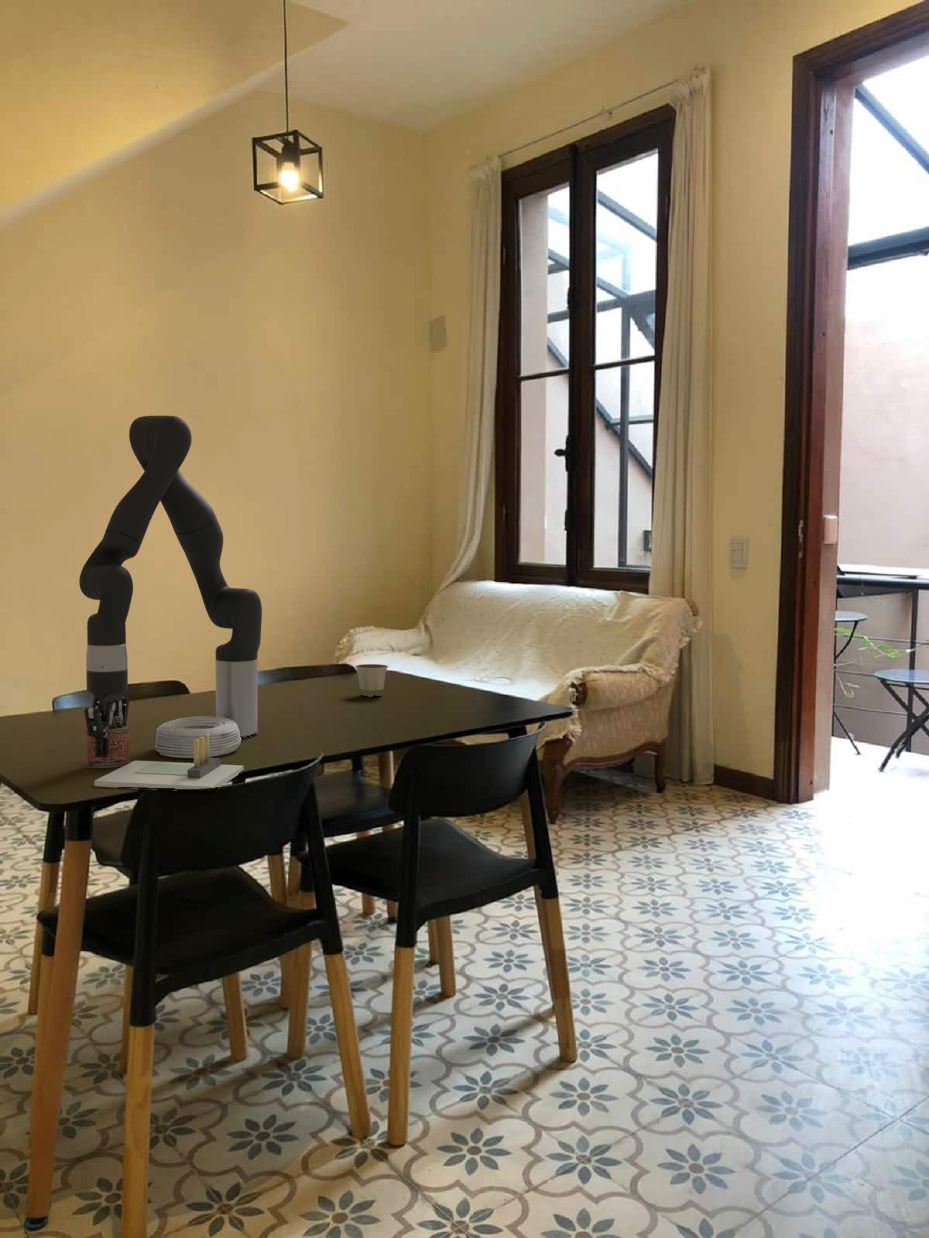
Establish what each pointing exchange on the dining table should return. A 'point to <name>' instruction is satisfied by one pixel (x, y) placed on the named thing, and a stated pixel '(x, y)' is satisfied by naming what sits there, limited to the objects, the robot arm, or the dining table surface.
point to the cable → (197, 736)
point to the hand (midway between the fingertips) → (108, 753)
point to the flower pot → (371, 676)
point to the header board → (174, 772)
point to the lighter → (110, 746)
